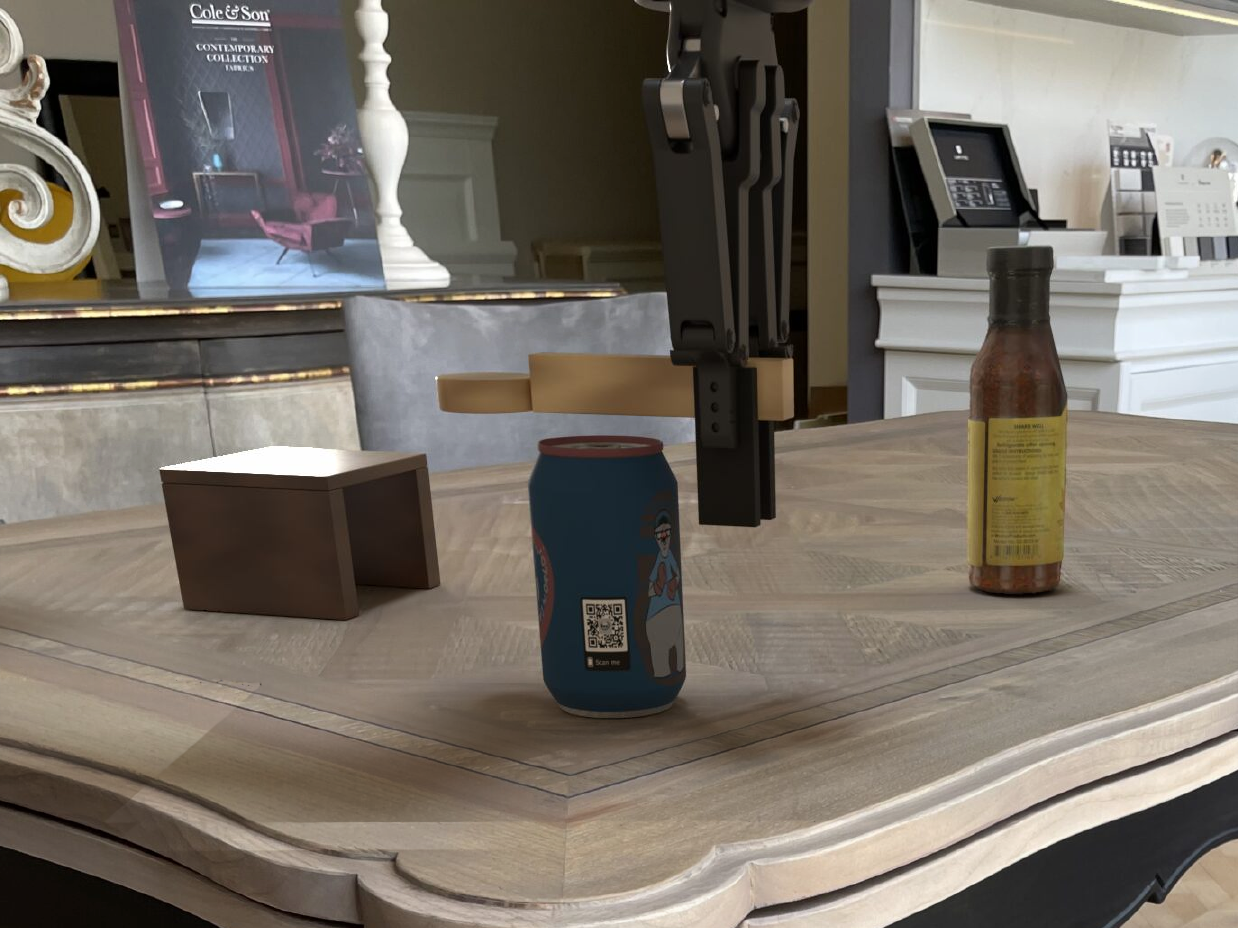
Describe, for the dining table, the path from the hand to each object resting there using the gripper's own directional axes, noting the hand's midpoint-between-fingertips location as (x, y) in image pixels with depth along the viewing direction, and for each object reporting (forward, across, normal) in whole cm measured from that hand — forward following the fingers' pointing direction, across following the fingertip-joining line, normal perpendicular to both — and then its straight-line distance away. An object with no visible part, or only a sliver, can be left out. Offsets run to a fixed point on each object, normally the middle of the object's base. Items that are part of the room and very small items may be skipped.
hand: (737, 520), depth 78 cm
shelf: (+9, +20, +35) cm, 41 cm away
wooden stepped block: (-4, 0, +6) cm, 8 cm away
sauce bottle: (+9, +36, -6) cm, 38 cm away
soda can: (+9, 0, +7) cm, 11 cm away
